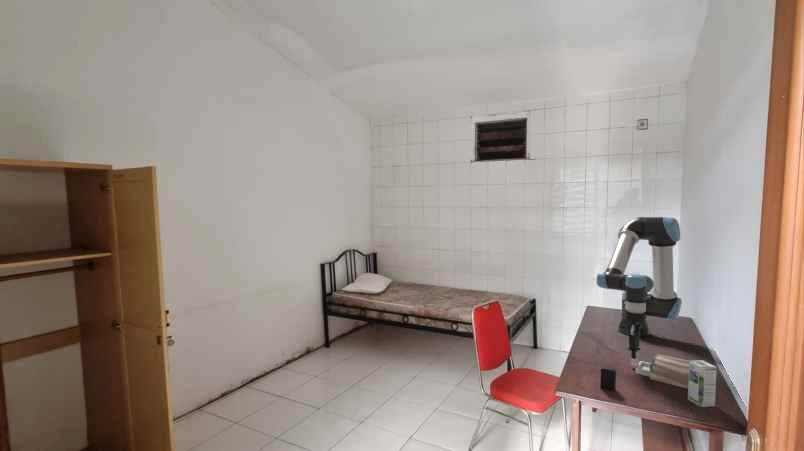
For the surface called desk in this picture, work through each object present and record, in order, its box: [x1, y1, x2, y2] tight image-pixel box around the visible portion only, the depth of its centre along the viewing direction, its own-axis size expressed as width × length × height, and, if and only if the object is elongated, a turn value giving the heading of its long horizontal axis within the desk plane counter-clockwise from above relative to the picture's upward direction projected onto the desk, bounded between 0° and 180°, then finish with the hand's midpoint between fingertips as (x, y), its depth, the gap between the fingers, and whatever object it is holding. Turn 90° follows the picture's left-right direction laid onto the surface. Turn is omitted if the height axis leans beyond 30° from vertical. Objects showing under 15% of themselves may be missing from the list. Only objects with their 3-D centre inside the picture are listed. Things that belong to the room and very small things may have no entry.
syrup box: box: [687, 359, 717, 408], centre depth 137 cm, size 6×6×14 cm
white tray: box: [635, 360, 652, 378], centre depth 161 cm, size 10×14×2 cm
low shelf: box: [649, 353, 690, 389], centre depth 158 cm, size 16×14×6 cm
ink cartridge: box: [599, 366, 617, 392], centre depth 149 cm, size 5×2×8 cm, turn 52°
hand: (633, 364), depth 167 cm, fingers closed
